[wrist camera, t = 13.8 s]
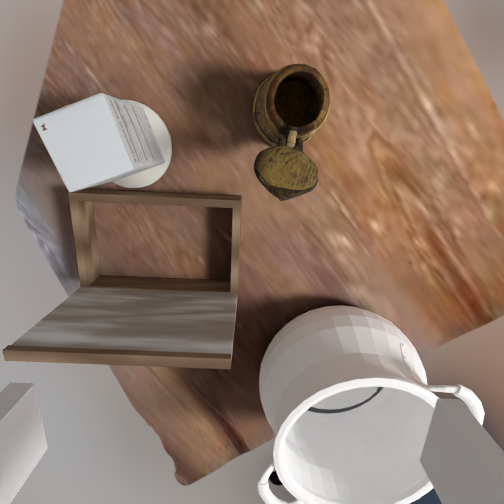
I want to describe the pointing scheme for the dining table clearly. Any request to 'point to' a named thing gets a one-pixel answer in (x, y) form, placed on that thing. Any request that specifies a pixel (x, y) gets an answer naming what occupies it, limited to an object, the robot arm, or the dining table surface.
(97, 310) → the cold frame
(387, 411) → the pot
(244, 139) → the dining table surface
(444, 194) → the dining table surface
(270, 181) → the wooden mug
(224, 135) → the dining table surface
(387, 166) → the dining table surface
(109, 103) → the supplement box
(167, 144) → the saucer
